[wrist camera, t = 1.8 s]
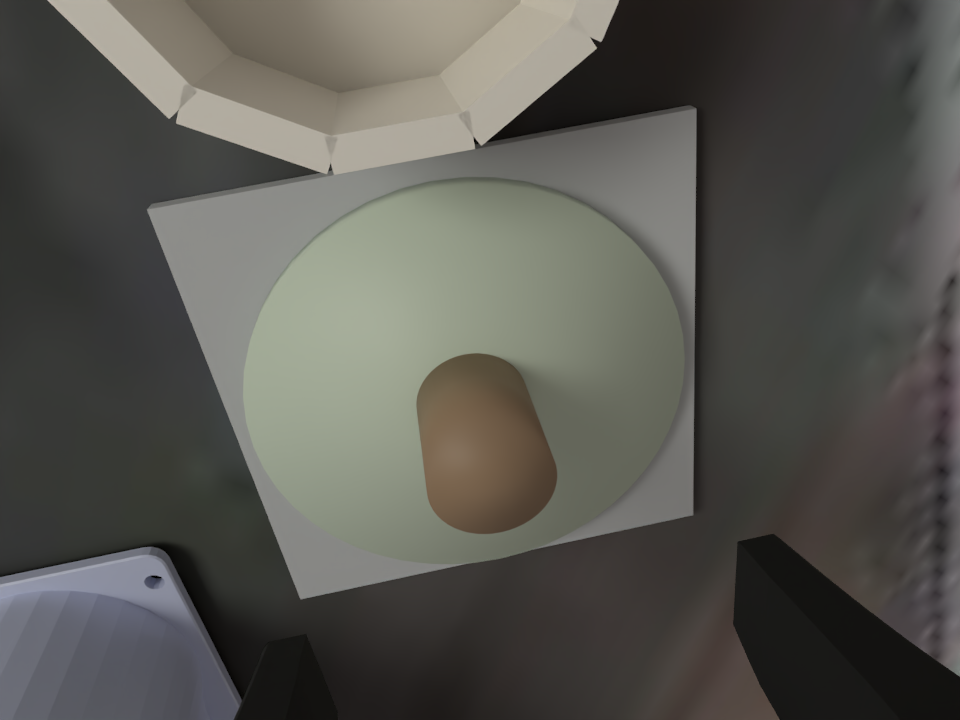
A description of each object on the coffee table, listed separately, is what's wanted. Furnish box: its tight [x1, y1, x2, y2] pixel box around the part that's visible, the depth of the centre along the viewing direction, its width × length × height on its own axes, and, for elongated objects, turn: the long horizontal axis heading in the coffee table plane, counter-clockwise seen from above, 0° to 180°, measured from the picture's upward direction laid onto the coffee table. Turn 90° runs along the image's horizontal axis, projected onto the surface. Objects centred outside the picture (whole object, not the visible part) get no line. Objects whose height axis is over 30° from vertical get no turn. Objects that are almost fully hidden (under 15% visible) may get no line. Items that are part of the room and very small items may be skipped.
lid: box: [243, 177, 685, 564], centre depth 17 cm, size 11×11×4 cm
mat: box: [147, 105, 697, 599], centre depth 19 cm, size 12×12×1 cm
